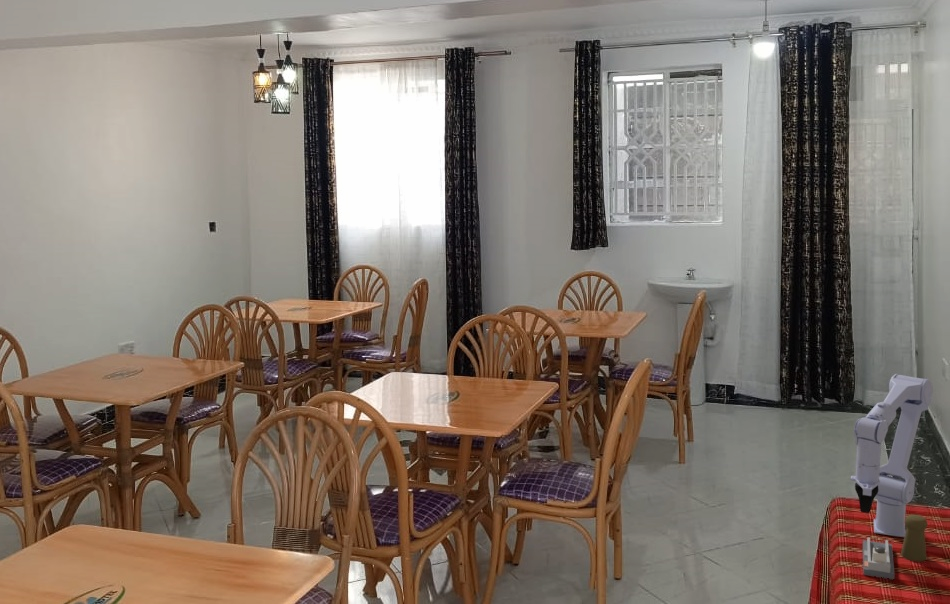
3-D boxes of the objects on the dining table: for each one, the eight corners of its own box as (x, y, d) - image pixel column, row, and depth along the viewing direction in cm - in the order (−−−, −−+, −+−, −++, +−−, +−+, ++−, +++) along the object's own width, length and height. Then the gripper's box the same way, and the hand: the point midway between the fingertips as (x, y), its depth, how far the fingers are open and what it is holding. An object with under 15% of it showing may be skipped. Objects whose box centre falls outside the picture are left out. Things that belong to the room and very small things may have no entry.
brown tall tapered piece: (929, 562, 222) (932, 522, 220) (904, 560, 223) (907, 520, 221) (922, 551, 228) (925, 512, 226) (897, 550, 229) (900, 511, 227)
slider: (872, 562, 219) (873, 544, 218) (885, 564, 217) (886, 546, 217) (872, 567, 216) (873, 549, 215) (885, 569, 215) (886, 551, 214)
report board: (862, 545, 232) (863, 533, 231) (891, 549, 229) (892, 537, 229) (863, 574, 216) (864, 561, 215) (894, 579, 213) (895, 566, 212)
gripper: (851, 452, 234) (848, 499, 236) (851, 470, 221) (848, 519, 223) (880, 455, 231) (877, 503, 234) (881, 473, 218) (878, 524, 221)
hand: (865, 511), depth 228 cm, fingers closed
